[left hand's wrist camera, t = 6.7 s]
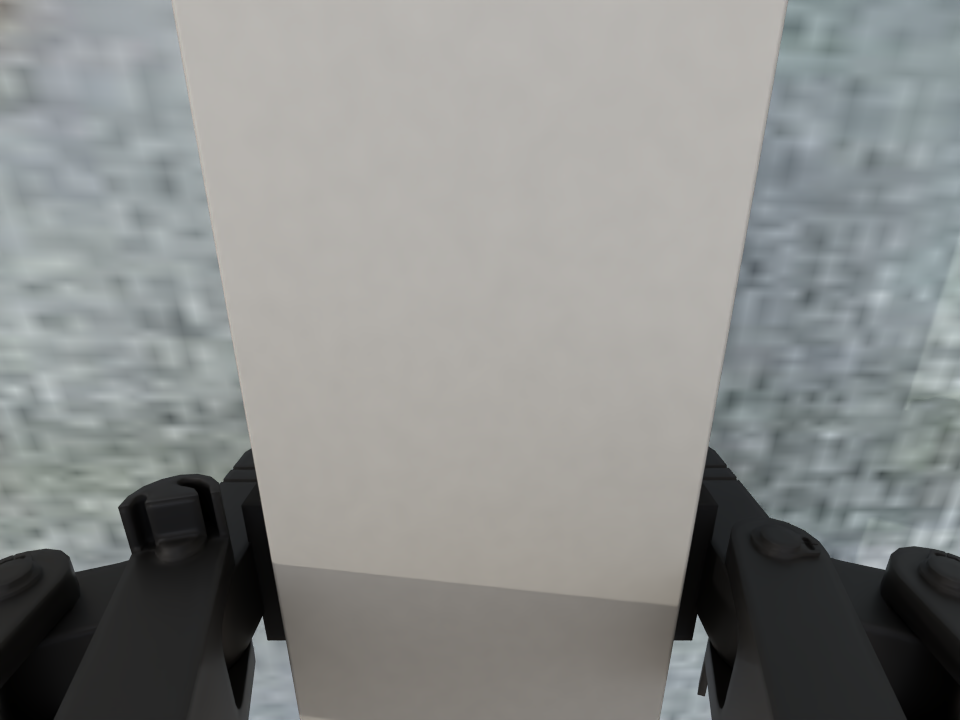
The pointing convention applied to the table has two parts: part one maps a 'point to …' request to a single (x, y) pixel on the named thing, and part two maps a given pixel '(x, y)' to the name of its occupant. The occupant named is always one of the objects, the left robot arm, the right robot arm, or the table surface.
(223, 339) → the table surface
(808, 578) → the left robot arm
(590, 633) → the post
